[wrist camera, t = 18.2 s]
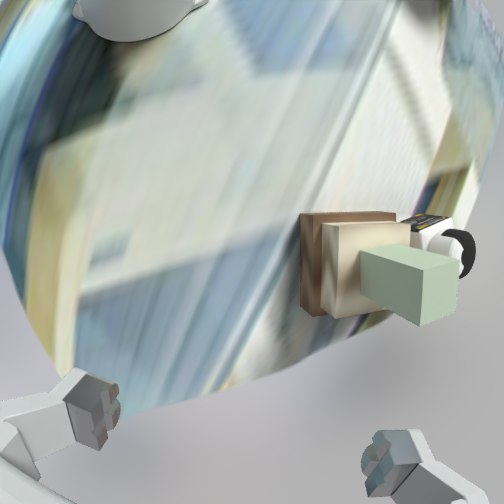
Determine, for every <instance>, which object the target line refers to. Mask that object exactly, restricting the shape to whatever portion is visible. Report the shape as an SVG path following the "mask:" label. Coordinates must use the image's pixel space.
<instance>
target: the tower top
mask: <svg viewBox="0 0 504 504" xmlns="http://www.w3.org/2000/svg"><path fill="white" fill-rule="evenodd" d="M410 231H411V224H407V223H400V222H394V221H371V222H339V223H322V271H321V303H320V307H321V308H322V309H323V310H325V311H326V312H327V313H328V314H330V315H331V316H332V317H333V318H335V319H339V318H344V317H350V316H355V315H361V314H366V313H371V312H376V311H381V310H386V308H385V307H383V306H381V305H379V304H377V303H375V302H374V301H372V300H370V299H368V298H366V297H364V296H363V295H361V279H360V250H362V249H368V248H373V247H379V246H384V245H389V244H394V243H396V244H400V245H404V246H408V247H410Z"/></svg>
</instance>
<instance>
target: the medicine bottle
mask: <svg viewBox="0 0 504 504" xmlns="http://www.w3.org/2000/svg"><path fill="white" fill-rule="evenodd" d="M400 223H407V224H411V231H410V247H412V248H416V249H420V250H424V251H428V252H432V253H436V254H440V255H444V256H448V257H452V258H455V259H459V260H460V266H459V279H461V278H463V277H464V276H466V275H467V274H468V273H469V271H470V270H471V268H472V266H473V264H474V260H475V254H476V246H475V242H474V239H473V237H472V235H471V234H470V233H469V232H467V231H462V230H456V229H453V220H452V218H450V217H442V216H434V215H426V214H419V215H416V216H414V217H411V218H408V219H406V220H403V221H401V222H400Z"/></svg>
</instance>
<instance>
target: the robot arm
mask: <svg viewBox="0 0 504 504" xmlns="http://www.w3.org/2000/svg"><path fill="white" fill-rule="evenodd" d="M208 1H209V0H77V2H76V4H75V6H74V8H73V10H72V12H73V16H74V17H75V18H76V19H79V20H81V21H85V22H86V23H88V24H89V26H90V27H91V28H92V30H93V31H94V32H95V33H96V34H98V35H99V36H101V37H103V38H105V39H108V40H112V41H119V42H131V41H138V40H143V39H147V38H151V37H154V36H156V35H159V34H161V33H163V32H165V31H167V30H169V29H170V28H172V27H173V26H175V25H176V24H177V23H178V22H180V21H181V20H182V19H183V18H184V17H185V16H186V15H187V13H189V12H190V11H191V10H193V9H195V8H197V7H199V6H202V5H204V4H205V3H207V2H208ZM118 394H119V388H118V385H117V384H116V383H114V382H111V381H109V380H106V379H104V378H101V377H99V376H96V375H94V374H92V373H88V372H86V371H84V370H82V369H80V368H73V369H72V370H71V371H70V372H69V373H68V374H67V375H66V376H65V377H64V378H63V379H62V380H61V381H60V382H59V383H58V384H57V385H56V386H55V387H54V388H53V389H52V390H51V391H50V392H49V393H47V392H41V393H37V394H32V395H28V396H23V397H19V398H14V399H10V400H5V401H0V504H76V503H74V502H72V501H70V500H69V499H67V498H65V497H63V496H61V495H59V494H57V493H56V492H54V491H52V490H50V489H48V488H47V487H45V486H44V485H42V484H40V483H39V482H38V481H39V479H40V478H41V477H40V473H39V471H38V470H37V468H36V466H35V464H34V462H35V461H37V460H39V459H42V458H44V457H46V456H48V455H51V454H53V453H55V452H57V451H60V450H62V449H64V448H66V447H68V446H70V445H72V444H75V443H76V441H77V442H79V443H82V444H84V445H86V446H88V447H91V448H93V449H95V450H98V451H100V450H101V448H102V447H103V445H104V443H105V442H106V440H107V439H108V434H107V431H109V430H112V429H114V427H115V426H116V424H117V422H118V419H119V416H120V402H119V401H118V400H117V398H116V397H117V395H118ZM372 439H373V443H372V444H371V445H370V446H368V447H367V448H366V449H365V451H364V453H363V455H362V459H361V468H362V472H363V474H365V475H366V476H367V477H368V478H367V480H366V481H365V486H366V491H367V495H368V497H383V496H391V498H392V499H393V500H394V501H395V503H396V504H490V503H489V501H488V498H487V497H486V495H485V493H484V491H483V490H481V489H480V488H478V487H477V486H475V485H474V484H472V483H471V482H469V481H468V480H466V479H465V478H463V477H462V476H460V475H459V474H457V473H456V472H454V471H453V470H451V469H450V468H448V467H447V466H446V465H444V464H442V463H441V462H440V461H435V459H434V457H433V455H432V453H431V451H430V449H429V447H428V444H427V443H426V440H425V438H424V436H423V434H422V432H421V431H420V430H419V429H410V430H409V429H408V430H379V431H377V432H376V433H375V435H374V436H373V438H372Z"/></svg>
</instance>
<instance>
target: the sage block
mask: <svg viewBox="0 0 504 504" xmlns="http://www.w3.org/2000/svg"><path fill="white" fill-rule="evenodd" d="M459 266H460V260H459V259H455V258H452V257H448V256H444V255H440V254H436V253H432V252H428V251H424V250H420V249H416V248H412V247H408V246H404V245H400V244H396V243H394V244H389V245H384V246H379V247H373V248H368V249H362V250H360V279H361V295H363V296H364V297H366V298H368V299H370V300H372V301H374V302H375V303H377V304H379V305H381V306H383V307H385V308H386V309H388V310H390V311H392V312H394V313H396V314H397V315H399V316H401V317H403V318H405V319H406V320H408V321H410V322H412V323H414V324H416V325H417V326H419V327H420V326H423V325H425V324H428V323H430V322H433V321H435V320H437V319H439V318H442V317H444V316H446V315H448V314H451V313H453V312H455V311H456V303H457V292H458V281H459Z"/></svg>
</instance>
